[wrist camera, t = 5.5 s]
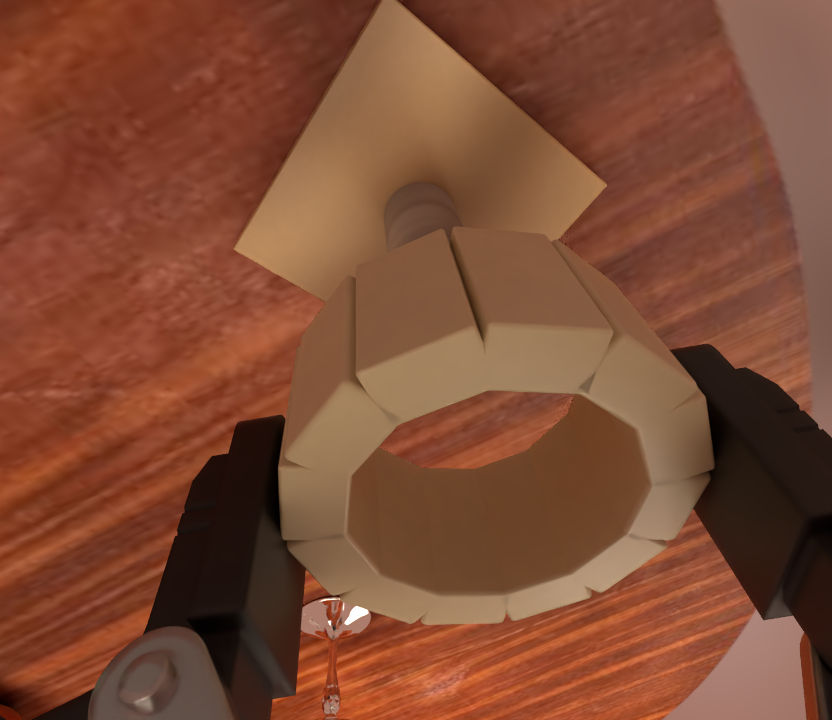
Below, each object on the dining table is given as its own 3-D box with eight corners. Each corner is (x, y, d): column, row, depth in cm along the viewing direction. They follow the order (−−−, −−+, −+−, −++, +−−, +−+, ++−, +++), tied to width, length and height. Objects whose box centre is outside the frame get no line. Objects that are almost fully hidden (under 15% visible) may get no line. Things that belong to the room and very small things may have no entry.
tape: (235, 424, 11) (200, 558, 8) (437, 145, 8) (474, 222, 6) (482, 531, 13) (511, 657, 11) (698, 347, 11) (799, 460, 8)
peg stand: (237, 238, 19) (201, 317, 15) (385, -10, 16) (397, -4, 11) (438, 355, 23) (458, 447, 18) (597, 176, 19) (671, 237, 15)
